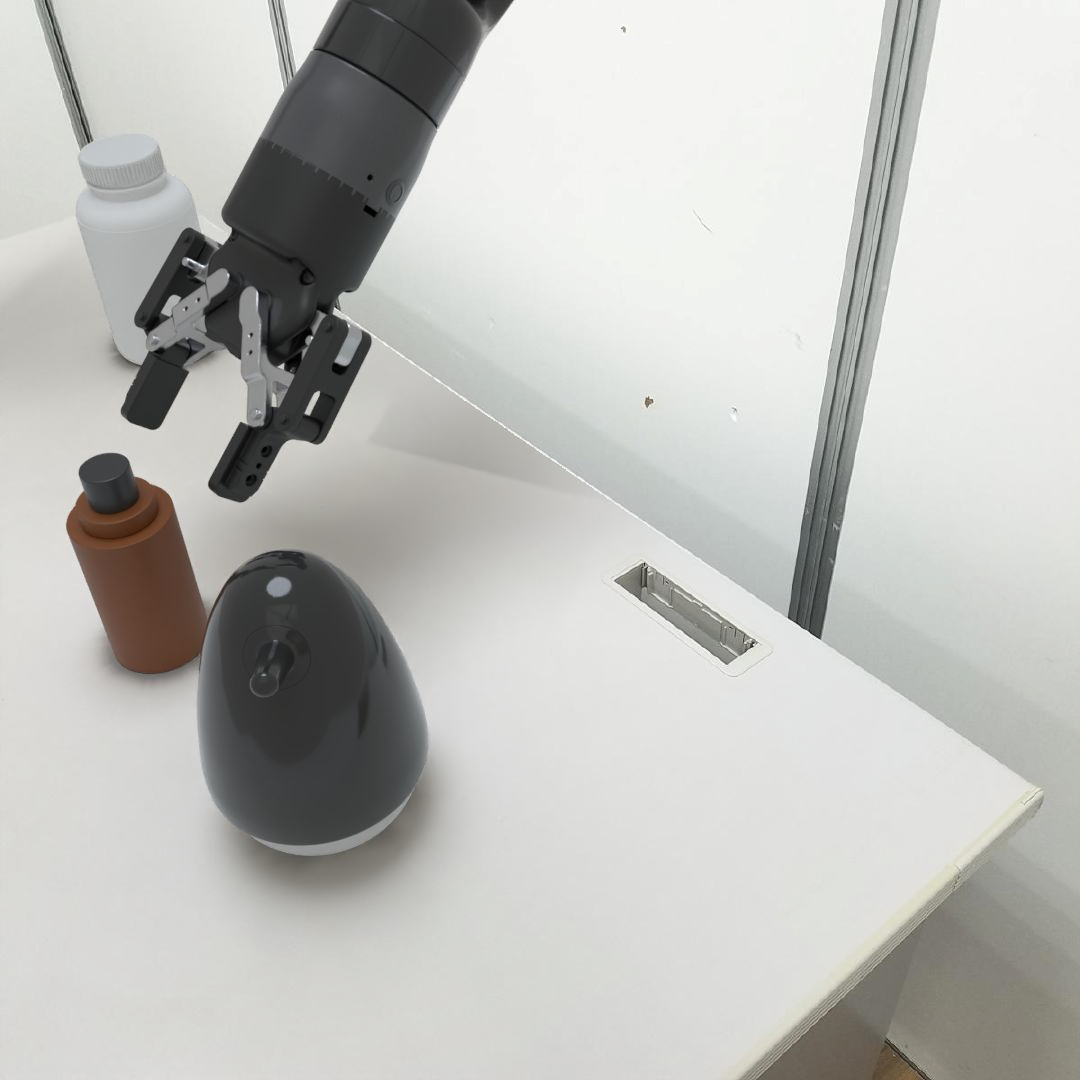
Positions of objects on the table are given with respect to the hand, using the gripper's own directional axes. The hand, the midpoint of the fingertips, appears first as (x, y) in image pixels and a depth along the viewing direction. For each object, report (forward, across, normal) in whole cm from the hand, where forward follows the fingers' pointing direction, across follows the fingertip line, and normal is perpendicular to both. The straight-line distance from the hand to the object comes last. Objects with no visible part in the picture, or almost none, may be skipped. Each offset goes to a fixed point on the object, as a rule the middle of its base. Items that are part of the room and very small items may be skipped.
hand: (180, 459), depth 58 cm
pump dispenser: (+10, +15, +5) cm, 19 cm away
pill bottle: (-2, -27, +16) cm, 32 cm away
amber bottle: (+10, 0, +5) cm, 11 cm away
